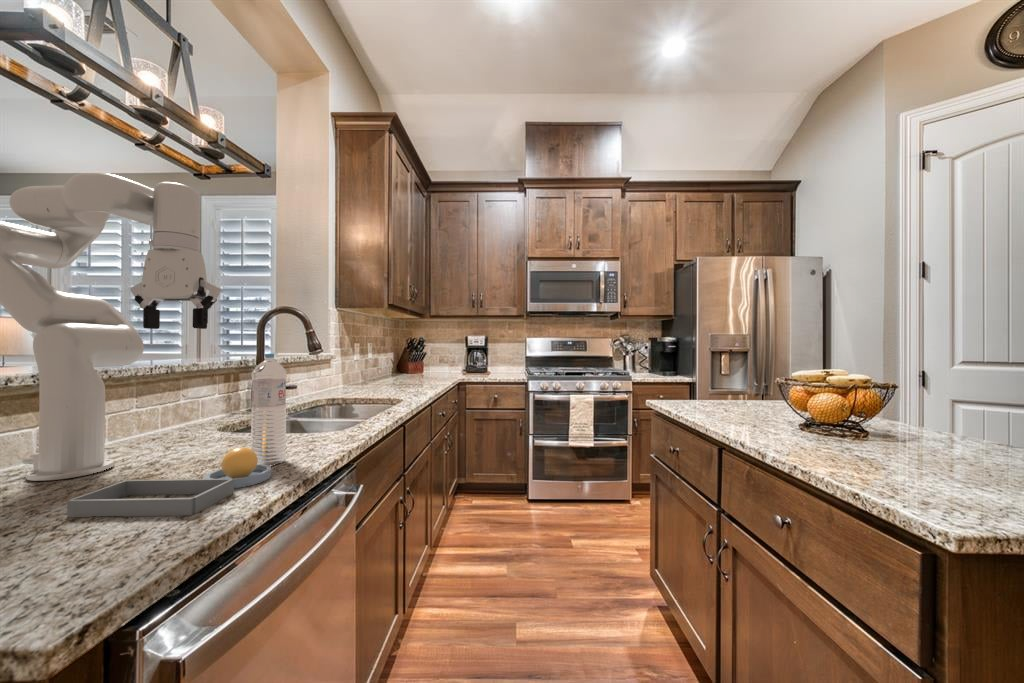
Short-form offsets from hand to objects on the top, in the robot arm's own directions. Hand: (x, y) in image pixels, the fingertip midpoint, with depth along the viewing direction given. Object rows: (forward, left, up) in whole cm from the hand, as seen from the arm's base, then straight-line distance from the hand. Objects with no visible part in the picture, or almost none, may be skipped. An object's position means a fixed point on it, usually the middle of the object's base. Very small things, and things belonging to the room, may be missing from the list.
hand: (175, 328), depth 83 cm
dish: (+15, -3, -30) cm, 34 cm away
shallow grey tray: (+9, -15, -30) cm, 35 cm away
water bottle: (+14, +9, -31) cm, 35 cm away
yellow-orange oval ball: (+15, -3, -30) cm, 33 cm away
